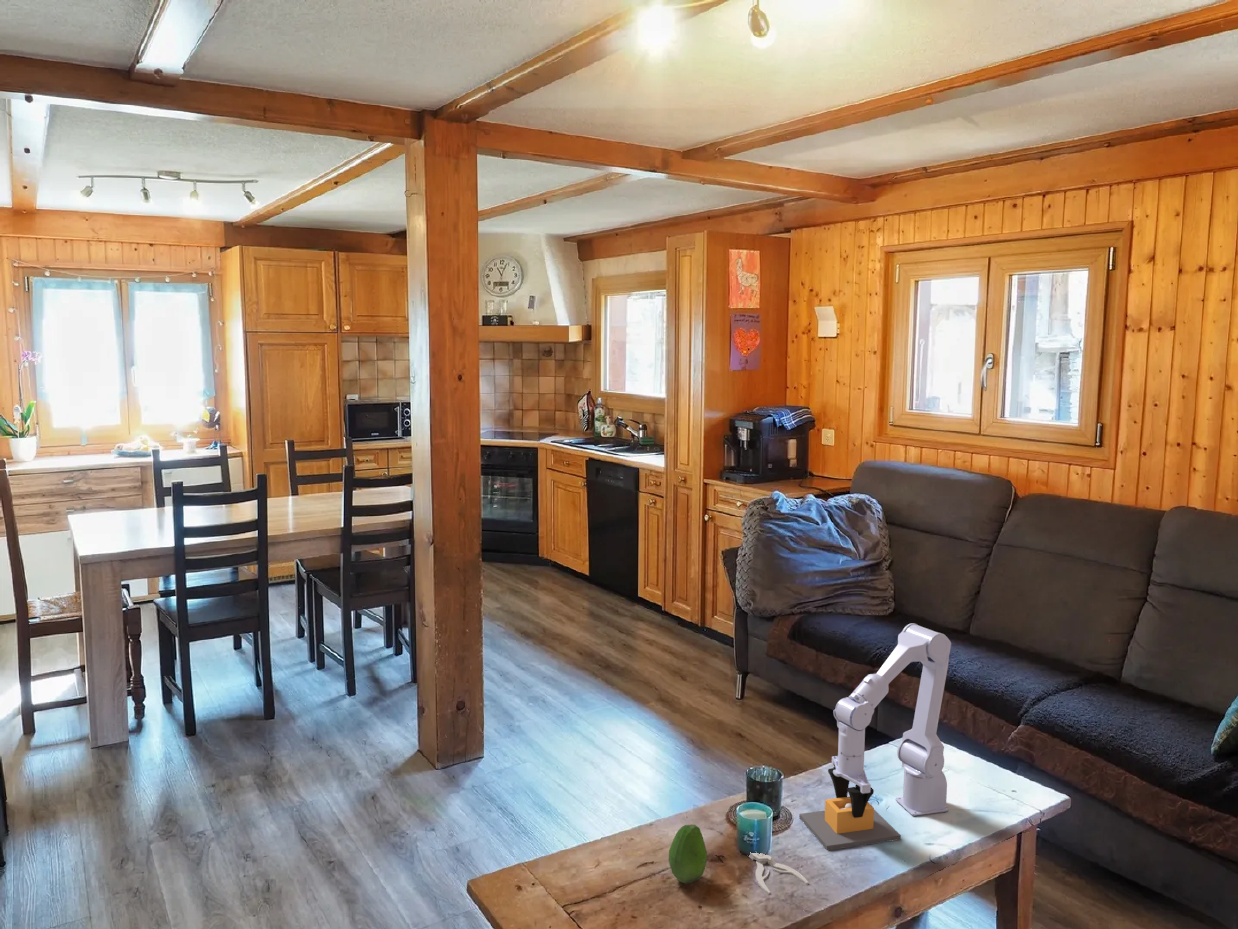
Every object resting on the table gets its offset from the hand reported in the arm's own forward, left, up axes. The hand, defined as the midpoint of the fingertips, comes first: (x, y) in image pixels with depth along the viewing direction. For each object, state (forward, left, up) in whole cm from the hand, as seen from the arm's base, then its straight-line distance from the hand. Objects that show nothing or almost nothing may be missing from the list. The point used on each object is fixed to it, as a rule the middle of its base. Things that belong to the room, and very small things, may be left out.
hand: (849, 808), depth 203 cm
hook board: (0, 0, -5) cm, 5 cm away
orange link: (0, 0, -4) cm, 4 cm away
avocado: (+42, +10, -5) cm, 43 cm away
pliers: (+24, +11, -6) cm, 27 cm away
